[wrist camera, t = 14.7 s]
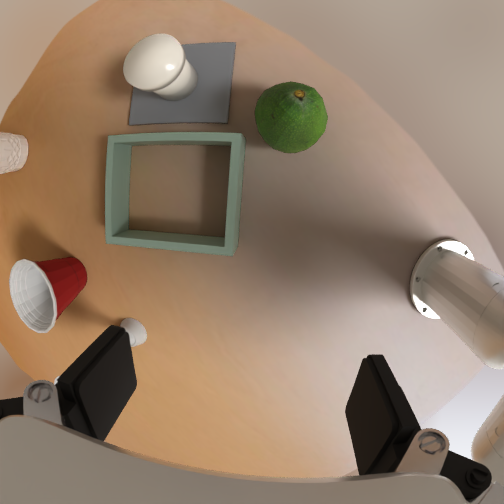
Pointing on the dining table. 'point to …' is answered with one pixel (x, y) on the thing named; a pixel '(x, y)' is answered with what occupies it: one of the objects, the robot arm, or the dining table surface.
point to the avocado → (290, 117)
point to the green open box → (122, 235)
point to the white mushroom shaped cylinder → (160, 68)
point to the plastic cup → (45, 289)
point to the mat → (201, 99)
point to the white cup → (12, 152)
